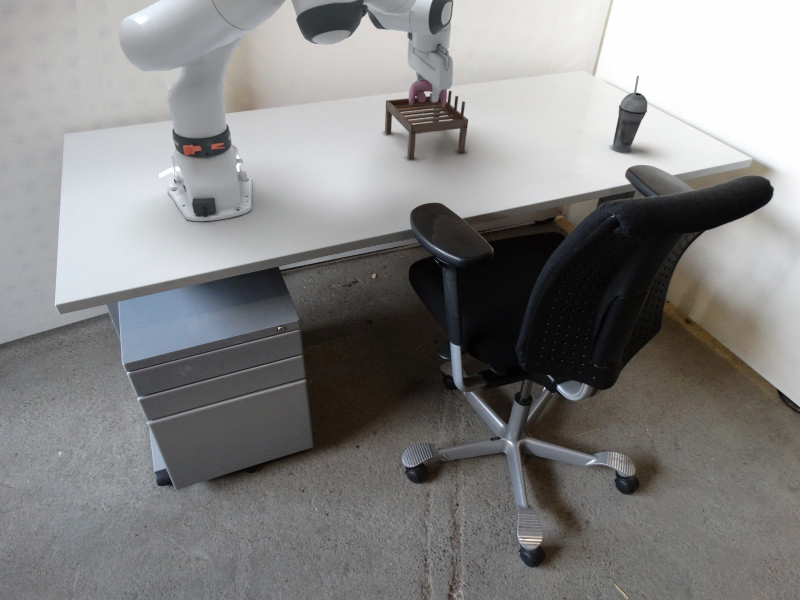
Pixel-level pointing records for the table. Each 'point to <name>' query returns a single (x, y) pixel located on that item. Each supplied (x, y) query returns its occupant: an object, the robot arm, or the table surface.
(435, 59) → the robot arm
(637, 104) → the beverage cup
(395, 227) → the table surface
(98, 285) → the table surface
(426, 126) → the rack
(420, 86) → the video game controller
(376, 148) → the table surface
